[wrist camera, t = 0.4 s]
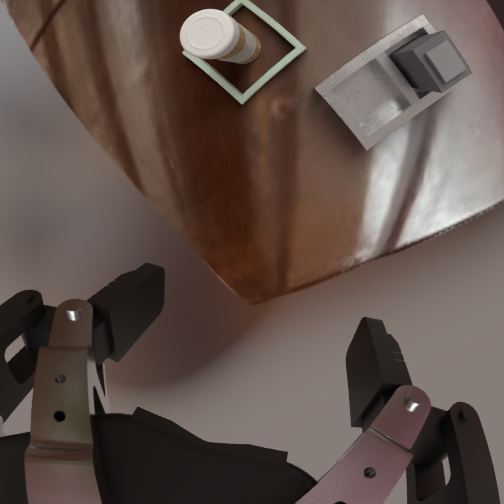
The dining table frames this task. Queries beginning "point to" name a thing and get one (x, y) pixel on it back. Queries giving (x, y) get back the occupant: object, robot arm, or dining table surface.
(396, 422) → the robot arm
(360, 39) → the dining table surface
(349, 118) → the divided grey caddy
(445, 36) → the grey stepped square plug
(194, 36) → the sprinkles bottle
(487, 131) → the dining table surface
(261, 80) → the tray frame
